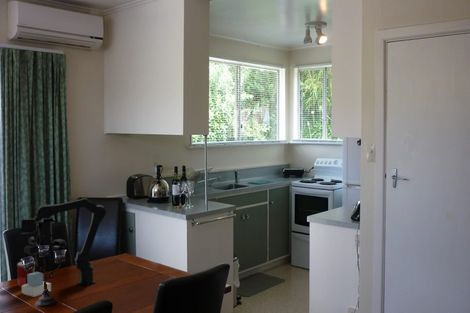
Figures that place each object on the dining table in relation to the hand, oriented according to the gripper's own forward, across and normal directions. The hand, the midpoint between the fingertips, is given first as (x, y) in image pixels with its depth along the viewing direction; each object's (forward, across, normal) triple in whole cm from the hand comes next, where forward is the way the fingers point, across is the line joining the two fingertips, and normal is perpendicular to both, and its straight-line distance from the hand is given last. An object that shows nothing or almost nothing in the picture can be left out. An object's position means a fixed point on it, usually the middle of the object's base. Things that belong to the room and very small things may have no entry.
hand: (46, 264), depth 220 cm
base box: (+12, +6, +1) cm, 14 cm away
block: (+8, +6, +1) cm, 10 cm away
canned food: (+12, +3, -13) cm, 18 cm away
